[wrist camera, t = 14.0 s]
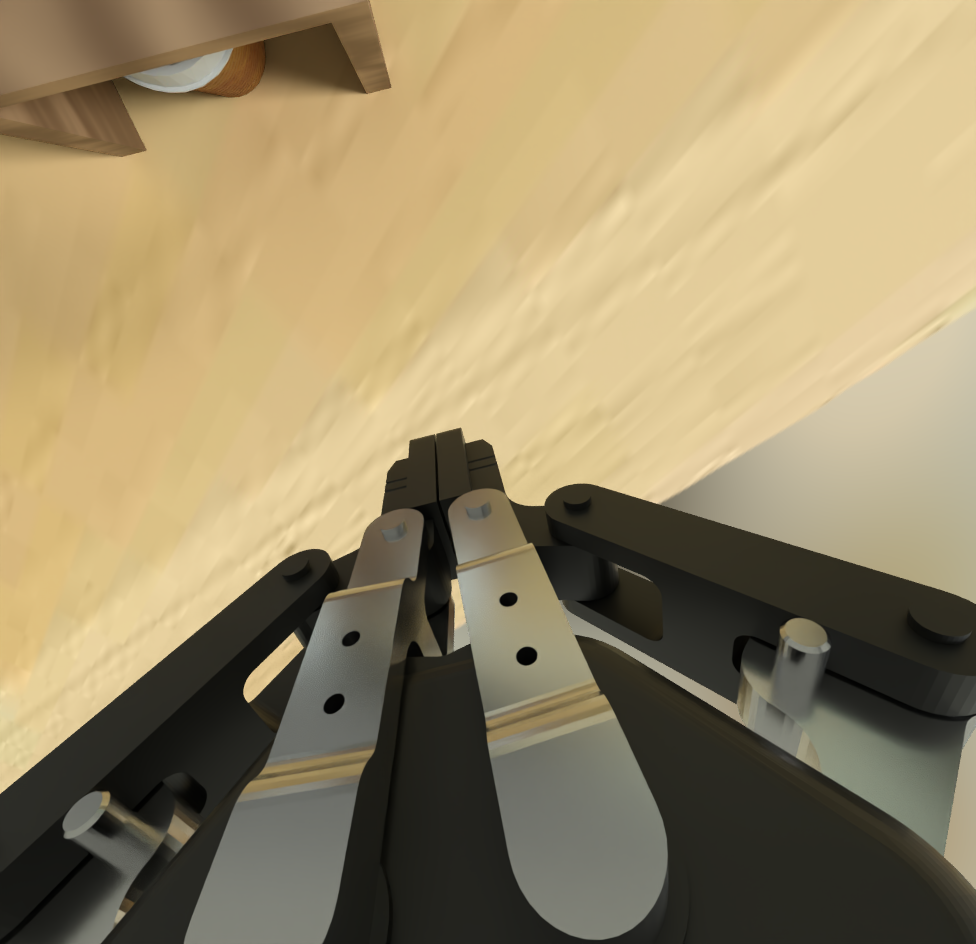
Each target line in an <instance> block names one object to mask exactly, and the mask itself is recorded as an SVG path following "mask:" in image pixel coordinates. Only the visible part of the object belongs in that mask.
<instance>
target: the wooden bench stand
mask: <svg viewBox="0 0 976 944" xmlns="http://www.w3.org/2000/svg"><path fill="white" fill-rule="evenodd" d="M328 23H332V25H333V27H334V29H335V31H336V33H337V35H338V37H339V39H340V41H341V43H342V45H343V47H344V49H345V51H346V53H347V55H348V57H349V59H350V61H351V63H352V65H353V67H354V69H355V71H356V73H357V75H358V77H359V79H360V81H361V83H362V85H363V87H364V89H365V91H366V93H367V94H368V93H372V92H376V91H380V90H384V89H388V88H391V84H390V80H389V76H388V72H387V68H386V64H385V60H384V56H383V53H382V49H381V45H380V41H379V37H378V33H377V29H376V25H375V21H374V17H373V13H372V9H371V5H370V1H369V0H0V134H2V135H8V136H13V137H19V138H24V139H29V140H35V141H40V142H46V143H51V144H56V145H62V146H67V147H73V148H78V149H83V150H89V151H94V152H100V153H105V154H110V155H116V156H121V157H123V156H127V155H131V154H135V153H139V152H142V151H146V148H145V146H144V144H143V142H142V140H141V138H140V136H139V134H138V132H137V130H136V128H135V126H134V124H133V122H132V120H131V118H130V116H129V114H128V112H127V110H126V108H125V106H124V104H123V102H122V100H121V98H120V96H119V94H118V92H117V90H116V88H115V86H114V84H113V82H112V80H111V79H115V78H119V77H123V76H127V75H131V74H135V73H138V72H142V71H146V70H150V69H154V68H158V67H162V66H166V65H169V64H173V63H177V62H181V61H185V60H189V59H193V58H197V57H200V56H204V55H208V54H212V53H216V52H220V51H224V50H228V49H231V48H235V47H239V46H243V45H247V44H251V43H255V42H259V41H262V40H266V39H270V38H274V37H278V36H282V35H286V34H290V33H293V32H297V31H301V30H305V29H309V28H313V27H317V26H321V25H324V24H328Z"/></svg>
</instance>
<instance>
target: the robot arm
mask: <svg viewBox="0 0 976 944" xmlns="http://www.w3.org/2000/svg"><path fill="white" fill-rule="evenodd" d="M618 565H619V566H622V567H624V568H626V569H629V570H631V571H633V572H636V573H638V574H641V575H643V576H645V577H646V578H648V579H649V580H651V581H652V582H650V581H648V580H646V579H643V578H641V577H639V576H636V575H634V574H632V573H630V572H627V571H625V570H623V569H620V568H618ZM457 578H458V582H459V587H460V592H461V597H462V602H463V608H464V613H465V618H466V623H467V628H468V632H469V638H470V644H469V645H466V646H465V647H462V648H460V649H458V650H456V651H454V618H455V604H454V600H453V597H452V595H451V591H452V587H451V580H453V579H457ZM559 600H562V602H563V604H564V606H565V607H566V609H567V610H568V611H570V612H571V613H573V614H574V615H576V616H578V617H580V618H581V619H583V620H585V621H587V622H589V623H590V624H592V625H594V626H596V627H598V628H600V629H601V630H603V631H605V632H607V633H609V634H610V635H612V636H614V637H616V638H618V639H619V640H621V641H623V642H625V643H627V644H628V645H630V646H632V647H634V648H636V649H638V650H639V651H641V652H643V653H645V654H647V655H648V656H650V657H652V658H654V659H656V660H657V661H659V662H661V663H663V664H665V665H666V666H668V667H670V668H672V669H674V670H676V671H677V672H679V673H681V674H683V675H685V676H686V677H688V678H690V679H692V680H694V681H695V682H697V683H699V684H701V685H703V686H705V687H706V688H708V689H710V690H712V691H714V692H715V693H717V694H719V695H721V696H723V697H724V698H726V699H728V700H730V701H732V702H733V703H735V704H737V707H738V711H739V714H740V716H741V719H742V721H743V722H744V724H745V726H746V727H745V726H744V725H742V724H740V723H739V722H737V721H736V720H734V719H732V718H730V717H729V716H727V715H726V714H724V713H723V712H721V711H719V710H718V709H716V708H714V707H713V706H711V705H709V704H708V703H706V702H705V701H703V700H701V699H700V698H698V697H696V696H694V695H693V694H691V693H690V692H688V691H686V690H685V689H683V688H682V687H680V686H678V685H677V684H675V683H674V682H672V681H670V680H668V679H667V678H665V677H664V676H662V675H660V674H659V673H657V672H655V671H654V670H652V669H651V668H649V667H647V666H646V665H644V664H642V663H641V662H639V661H638V660H636V659H634V658H633V657H631V656H629V655H628V654H626V653H624V652H623V651H621V650H619V649H617V648H616V647H613V646H611V645H609V644H607V643H604V642H602V641H599V640H596V639H593V638H589V637H584V636H579V635H574V633H573V631H572V629H571V627H570V625H569V622H568V620H567V618H566V616H565V613H564V611H563V609H562V607H561V605H560V602H559ZM293 632H294V633H295V635H296V637H297V638H298V640H299V641H300V643H301V644H302V646H303V647H304V648H303V649H302V650H301V651H300V652H299V654H298V655H297V656H296V657H295V658H294V659H293V660H292V661H291V662H290V663H289V664H288V665H287V666H286V667H285V668H284V669H283V670H282V671H281V672H280V673H279V674H278V675H277V676H276V677H275V678H274V679H273V680H272V681H271V682H270V683H269V684H268V685H267V686H266V687H265V688H264V689H263V690H262V692H261V693H260V694H259V695H258V696H257V697H256V698H255V699H253V700H252V701H251V702H249V703H248V702H247V701H246V700H245V698H244V695H243V689H244V685H245V682H246V680H247V678H248V677H249V675H250V674H251V673H252V672H253V671H254V670H255V669H256V668H257V667H258V666H259V665H260V664H261V663H262V662H263V661H264V660H265V659H266V658H267V657H268V656H269V655H270V654H271V653H272V652H273V651H274V650H275V649H276V648H277V647H278V646H279V645H280V644H281V643H282V642H283V641H284V640H285V639H286V638H287V637H288V636H289V635H291V634H292V633H293ZM975 728H976V604H974V603H972V602H970V601H969V600H966V599H964V598H961V597H959V596H957V595H954V594H951V593H948V592H945V591H942V590H939V589H936V588H932V587H929V586H925V585H922V584H919V583H915V582H912V581H909V580H906V579H903V578H899V577H896V576H893V575H889V574H886V573H883V572H880V571H876V570H873V569H870V568H866V567H863V566H860V565H856V564H853V563H849V562H847V561H843V560H840V559H837V558H833V557H830V556H827V555H824V554H820V553H817V552H813V551H810V550H807V549H804V548H800V547H797V546H793V545H790V544H787V543H784V542H780V541H777V540H774V539H771V538H767V537H764V536H761V535H758V534H754V533H751V532H748V531H744V530H741V529H737V528H734V527H731V526H728V525H725V524H721V523H718V522H715V521H711V520H708V519H704V518H702V517H698V516H695V515H692V514H688V513H685V512H682V511H678V510H675V509H672V508H668V507H665V506H662V505H659V504H655V503H652V502H649V501H645V500H642V499H639V498H636V497H632V496H629V495H626V494H622V493H619V492H616V491H613V490H609V489H606V488H603V487H599V486H596V485H592V484H573V485H568V486H564V487H562V488H559V489H558V490H556V491H554V492H553V493H551V494H550V495H549V496H548V498H547V499H546V501H545V506H524V505H520V504H517V503H515V502H513V501H511V500H510V499H509V498H508V497H507V495H506V493H505V490H504V486H503V483H502V479H501V476H500V472H499V469H498V465H497V462H496V458H495V454H494V451H493V447H492V445H490V444H489V443H487V442H486V441H484V440H483V439H482V440H478V441H474V442H470V443H465V439H464V436H463V432H462V429H461V428H457V429H453V430H449V431H445V432H441V433H438V434H436V436H435V434H434V435H430V436H426V437H422V438H418V439H414V440H410V444H409V458H406V459H402V460H399V461H396V462H395V463H394V464H393V466H392V467H391V468H390V470H389V471H388V473H387V480H386V486H385V493H384V500H383V506H382V513H381V516H380V517H378V518H377V519H375V520H374V521H373V522H372V523H371V524H370V525H369V526H368V527H367V529H366V530H365V533H364V536H363V539H362V542H361V546H360V548H359V549H357V550H356V551H354V552H352V553H350V554H347V555H345V556H343V557H341V558H339V559H337V560H335V561H332V560H331V558H330V556H329V555H328V553H327V552H326V551H323V550H320V549H310V550H305V551H302V552H299V553H296V554H294V555H292V556H290V557H288V558H286V559H285V560H283V561H282V562H281V563H279V564H278V565H277V566H276V567H274V568H273V569H272V570H271V571H269V572H268V573H267V574H266V575H265V576H263V577H262V578H261V579H260V580H259V581H257V582H256V583H255V584H254V585H253V586H251V587H250V588H249V589H248V590H247V591H245V592H244V593H243V594H242V595H240V596H239V597H238V598H237V599H236V600H234V601H233V602H232V603H231V604H230V605H228V606H227V607H226V608H225V609H224V610H222V611H221V612H220V613H219V614H217V615H216V616H215V617H214V618H213V619H211V620H210V621H209V622H208V623H207V624H205V625H204V626H203V627H202V628H201V629H199V630H198V631H197V632H196V633H194V634H193V635H192V636H191V637H190V638H188V639H187V640H186V641H185V642H184V643H182V644H181V645H180V646H179V647H178V648H176V649H175V650H174V651H173V652H171V653H170V654H169V655H168V656H167V657H165V658H164V659H163V660H162V661H161V662H159V663H158V664H157V665H156V666H155V667H153V668H152V669H151V670H150V671H149V672H147V673H146V674H145V675H144V676H142V677H141V678H140V679H139V680H138V681H136V682H135V683H134V684H133V685H132V686H130V687H129V688H128V689H127V690H126V691H124V692H123V693H122V694H121V695H119V696H118V697H117V698H116V699H115V700H113V701H112V702H111V703H110V704H109V705H107V706H106V707H105V708H104V709H103V710H101V711H100V712H99V713H98V714H96V715H95V716H94V717H93V718H92V719H90V720H89V721H88V722H87V723H86V724H84V725H83V726H82V727H81V728H80V729H78V730H77V731H76V732H75V733H74V734H72V735H71V736H70V737H69V738H67V739H66V740H65V741H64V742H63V743H61V744H60V745H59V746H58V747H57V748H55V749H54V750H53V751H52V752H51V753H49V754H48V755H47V756H46V757H44V758H43V759H42V760H41V761H40V762H38V763H37V764H36V765H35V766H34V767H32V768H31V769H30V770H29V771H28V772H26V773H25V774H24V775H23V776H21V777H20V778H19V779H18V780H17V781H15V782H14V783H13V784H12V785H11V786H9V787H8V788H7V789H6V790H5V791H3V792H2V793H1V794H0V944H976V890H975V889H974V888H973V886H972V885H971V884H970V883H969V882H968V881H967V880H966V879H965V878H964V876H963V875H962V874H961V873H960V872H959V871H958V870H957V869H956V868H955V867H954V866H953V865H952V864H951V863H949V862H948V861H947V860H946V859H945V858H944V851H945V845H946V839H947V834H948V828H949V822H950V816H951V810H952V804H953V799H954V792H955V787H956V781H957V775H958V769H959V764H960V758H961V752H962V749H963V747H964V746H965V744H966V743H967V741H968V739H969V738H970V736H971V734H972V733H973V731H974V729H975Z"/></svg>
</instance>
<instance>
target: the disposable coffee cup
mask: <svg viewBox="0 0 976 944" xmlns="http://www.w3.org/2000/svg"><path fill="white" fill-rule="evenodd" d="M265 58H266V55H265V46H264V41H263V40H262V41H259V42H255V43H251V44H247V45H243V46H239V47H235V48H231V49H228V50H224V51H220V52H216V53H212V54H208V55H204V56H200V57H197V58H193V59H189V60H185V61H181V62H177V63H173V64H169V65H166V66H162V67H158V68H154V69H150V70H146V71H142V72H138V73H135V74H131V75H127V76H123V77H125V78H127V79H129V80H130V81H132V82H134V83H136V84H138V85H141V86H144V87H147V88H150V89H153V90H156V91H163V92H169V93H185V92H188V91H191V90H195V91H200V92H205V93H211V94H216V95H221V96H225V97H240V96H243V95H246V94H248V93H249V92H251V91H252V90H253V89H254V88H255V87H256V86H257V85H258V83H259V81H260V79H261V77H262V75H263V72H264V68H265Z"/></svg>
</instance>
